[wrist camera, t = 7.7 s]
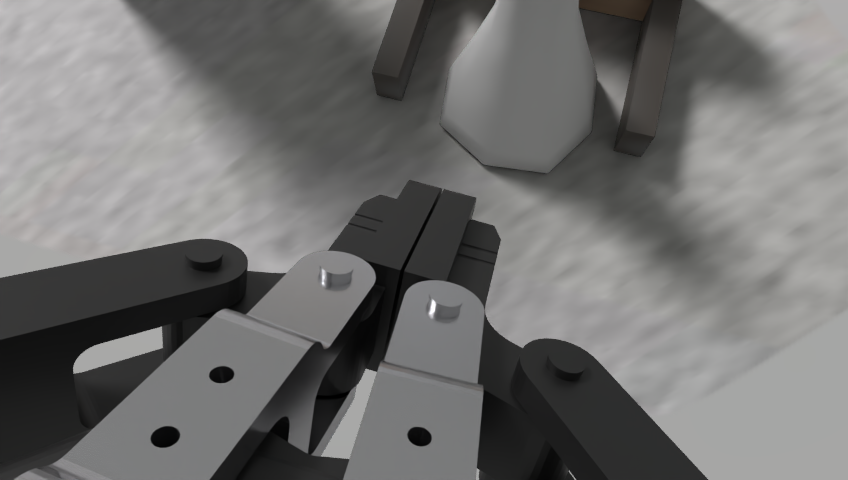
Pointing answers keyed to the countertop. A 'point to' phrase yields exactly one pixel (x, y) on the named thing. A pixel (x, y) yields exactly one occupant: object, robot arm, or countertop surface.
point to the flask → (523, 86)
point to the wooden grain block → (648, 3)
